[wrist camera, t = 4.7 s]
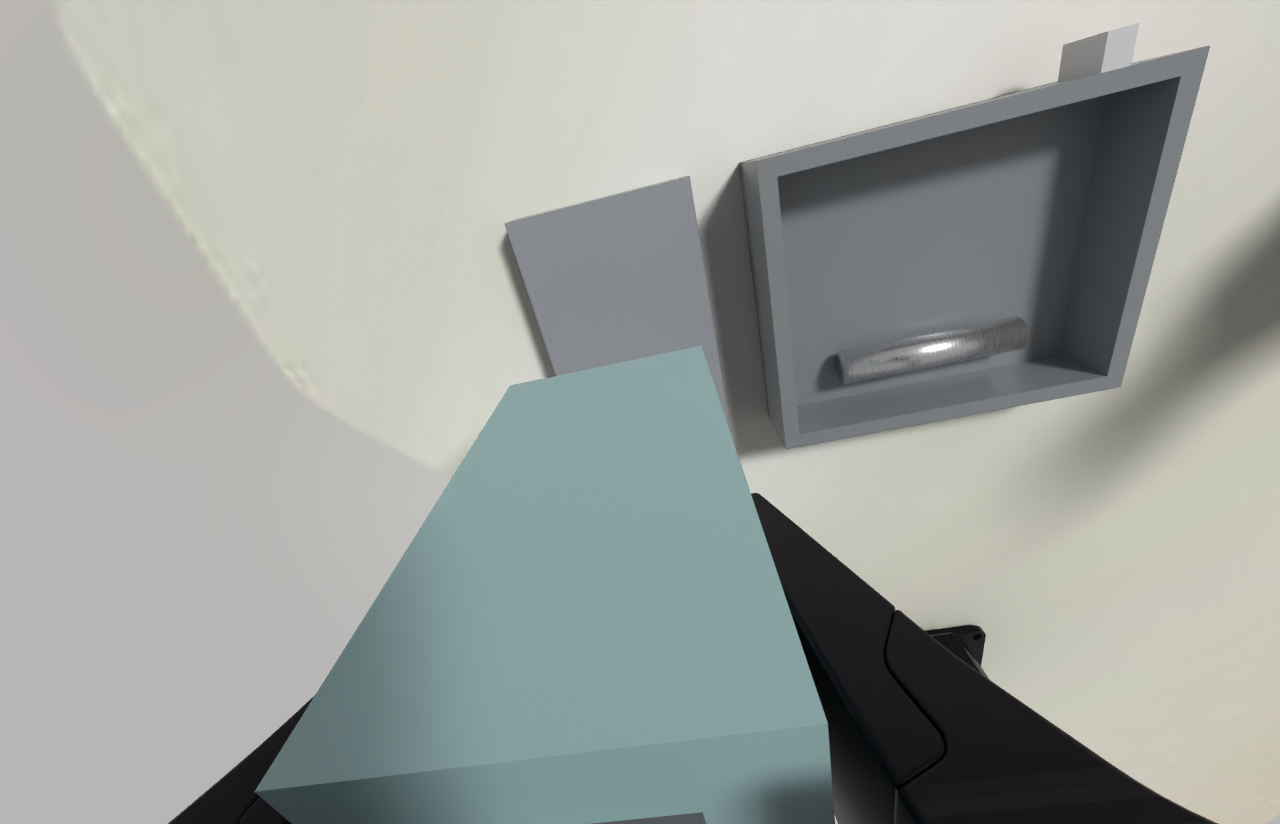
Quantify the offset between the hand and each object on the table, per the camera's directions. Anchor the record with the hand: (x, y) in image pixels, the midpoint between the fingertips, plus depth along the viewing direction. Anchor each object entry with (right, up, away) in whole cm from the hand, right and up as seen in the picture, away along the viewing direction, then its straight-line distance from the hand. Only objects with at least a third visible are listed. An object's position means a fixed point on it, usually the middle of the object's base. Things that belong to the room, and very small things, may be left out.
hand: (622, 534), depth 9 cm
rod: (+12, +5, +11) cm, 17 cm away
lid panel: (0, +6, +12) cm, 13 cm away
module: (0, +1, +3) cm, 3 cm away
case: (+12, +8, +10) cm, 17 cm away
